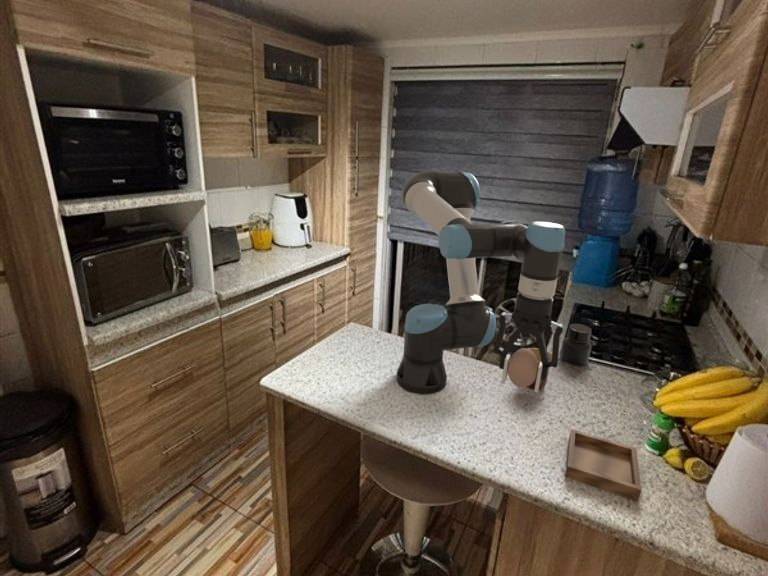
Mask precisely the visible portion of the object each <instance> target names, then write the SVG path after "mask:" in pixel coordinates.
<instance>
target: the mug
mask: <svg viewBox="0 0 768 576" xmlns="http://www.w3.org/2000/svg"><path fill="white" fill-rule="evenodd" d="M526 349H529V350H531V351H532V352H533V353H534V354H535V356H536V358H537V362H538V368H539V364H540V362H542V361H541V357H540V352H539V347H538V348H537V347H528V348H526ZM547 353H548V357H549V359H552V353H551V352H549V351H547ZM549 370H550V367H549V368H548V371H547V376H546V379H545V380H543V379H540V384H539V389H538V391H540V390H543V389H544V388H545V387H546V385H547V383H548V376H549ZM536 379H537V378H536ZM535 385H536V380H535V381H534V382H533V383H532V384H531V385H529V386H527V387H526V388H527V389H529V390H532V391H534V390H535Z"/></svg>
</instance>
